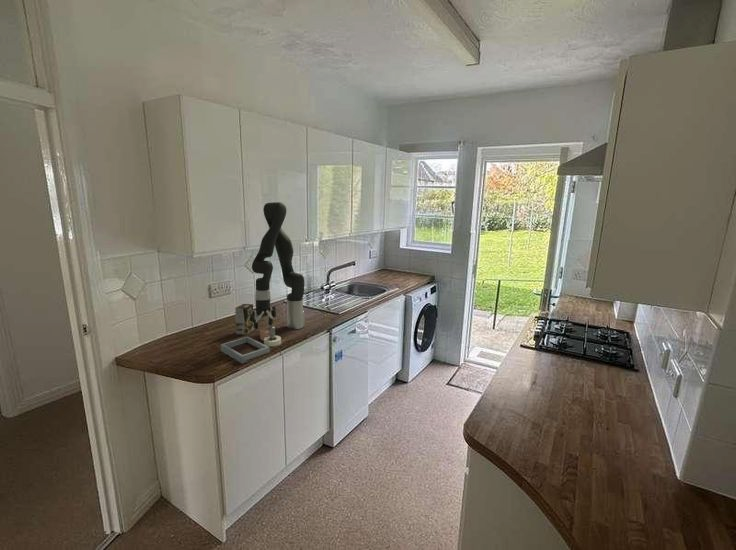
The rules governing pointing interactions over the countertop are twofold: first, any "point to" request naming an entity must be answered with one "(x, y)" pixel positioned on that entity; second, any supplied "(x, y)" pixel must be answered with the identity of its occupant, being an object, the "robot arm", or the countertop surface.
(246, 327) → the coffee box
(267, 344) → the ring
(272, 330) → the stake
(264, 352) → the tray
